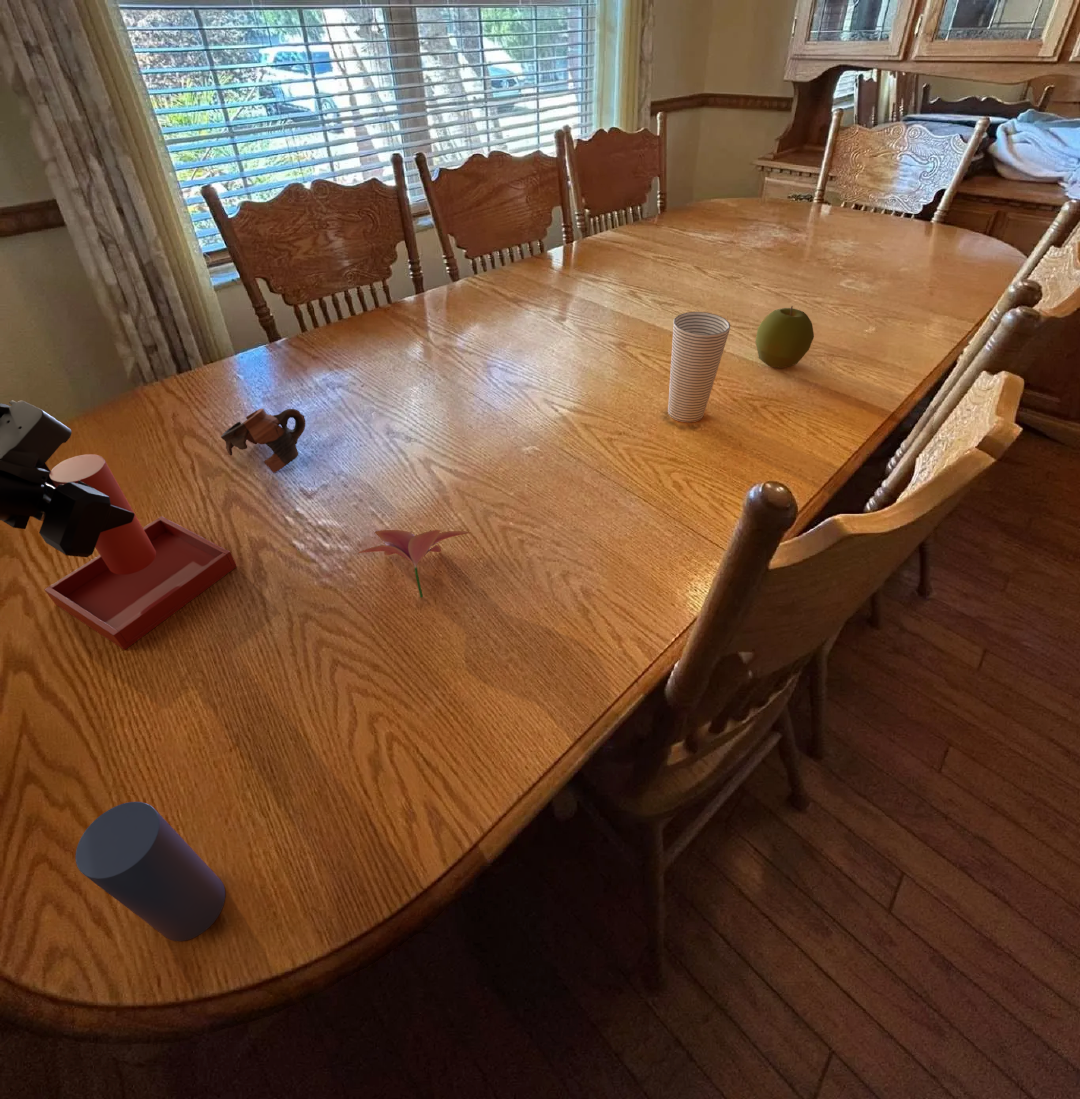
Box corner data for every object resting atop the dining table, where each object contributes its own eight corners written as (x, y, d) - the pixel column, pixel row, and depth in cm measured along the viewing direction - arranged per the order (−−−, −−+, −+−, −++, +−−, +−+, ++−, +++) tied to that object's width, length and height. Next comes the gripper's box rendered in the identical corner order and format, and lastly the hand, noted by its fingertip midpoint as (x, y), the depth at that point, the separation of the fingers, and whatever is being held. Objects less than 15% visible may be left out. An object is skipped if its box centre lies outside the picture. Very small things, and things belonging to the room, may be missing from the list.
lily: (487, 572, 79) (470, 498, 77) (446, 609, 69) (425, 524, 66) (405, 579, 84) (387, 510, 81) (355, 615, 73) (332, 536, 70)
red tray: (124, 650, 69) (113, 635, 67) (55, 604, 74) (43, 589, 72) (237, 566, 79) (230, 551, 77) (169, 530, 83) (161, 515, 82)
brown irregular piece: (259, 487, 91) (218, 440, 87) (250, 481, 99) (212, 438, 95) (326, 438, 95) (290, 391, 91) (312, 436, 103) (278, 393, 99)
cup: (716, 427, 102) (736, 335, 92) (663, 427, 102) (678, 335, 91) (705, 400, 108) (723, 311, 98) (656, 400, 108) (669, 311, 98)
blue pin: (167, 956, 48) (82, 896, 39) (151, 899, 51) (68, 831, 42) (233, 912, 50) (168, 845, 41) (214, 860, 53) (149, 787, 44)
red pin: (142, 575, 71) (87, 483, 62) (99, 574, 71) (38, 481, 63) (164, 545, 75) (114, 454, 66) (123, 544, 75) (68, 453, 66)
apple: (795, 381, 113) (813, 321, 106) (743, 367, 117) (757, 309, 110) (810, 359, 120) (828, 301, 112) (759, 347, 123) (773, 290, 116)
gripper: (33, 423, 51) (198, 467, 66) (-79, 367, 58) (93, 418, 73) (-12, 550, 52) (161, 566, 66) (-118, 479, 59) (60, 508, 73)
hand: (118, 509), depth 70 cm, fingers closed on red pin, 5 cm apart
